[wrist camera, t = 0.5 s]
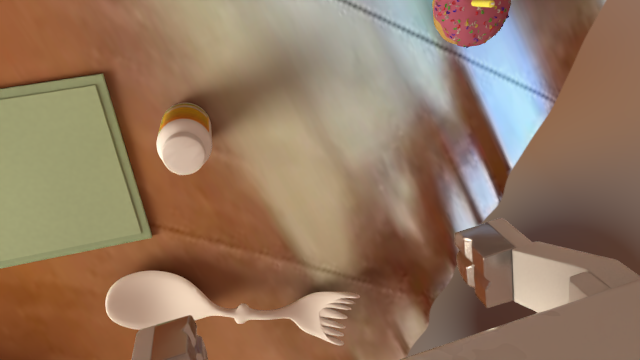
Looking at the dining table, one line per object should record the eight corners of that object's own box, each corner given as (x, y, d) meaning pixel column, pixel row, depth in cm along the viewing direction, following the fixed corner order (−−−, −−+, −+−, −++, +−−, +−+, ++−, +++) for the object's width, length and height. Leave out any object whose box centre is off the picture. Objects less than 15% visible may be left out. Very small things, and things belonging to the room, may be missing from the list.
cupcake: (405, 25, 56) (453, 41, 45) (436, -52, 53) (495, -55, 42) (466, 50, 58) (526, 70, 48) (499, -22, 56) (570, -18, 45)
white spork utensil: (338, 332, 72) (344, 349, 69) (105, 319, 63) (100, 337, 59) (355, 281, 69) (362, 296, 66) (112, 259, 59) (107, 275, 56)
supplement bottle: (154, 108, 53) (145, 136, 45) (203, 96, 54) (203, 122, 45) (170, 152, 56) (164, 188, 47) (216, 141, 56) (219, 173, 48)
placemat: (-87, 101, 48) (-90, 103, 48) (103, 73, 51) (102, 74, 50) (-7, 268, 57) (-8, 270, 56) (152, 236, 59) (152, 238, 59)
